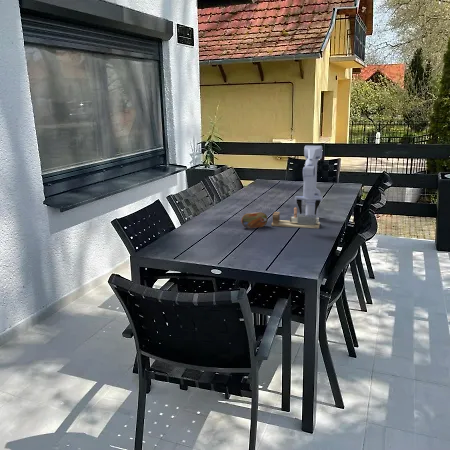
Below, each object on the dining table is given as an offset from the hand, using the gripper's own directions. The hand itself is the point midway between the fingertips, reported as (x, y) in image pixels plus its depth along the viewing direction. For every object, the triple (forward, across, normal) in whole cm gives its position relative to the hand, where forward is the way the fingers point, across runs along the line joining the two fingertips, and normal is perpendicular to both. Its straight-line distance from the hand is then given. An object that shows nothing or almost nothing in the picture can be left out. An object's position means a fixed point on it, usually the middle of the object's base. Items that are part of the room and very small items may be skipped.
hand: (308, 213), depth 248 cm
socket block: (+10, -19, +13) cm, 25 cm away
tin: (+10, -30, +4) cm, 32 cm away
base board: (+10, -8, +13) cm, 18 cm away
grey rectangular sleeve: (+10, -2, +13) cm, 17 cm away
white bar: (+8, -3, +13) cm, 16 cm away
